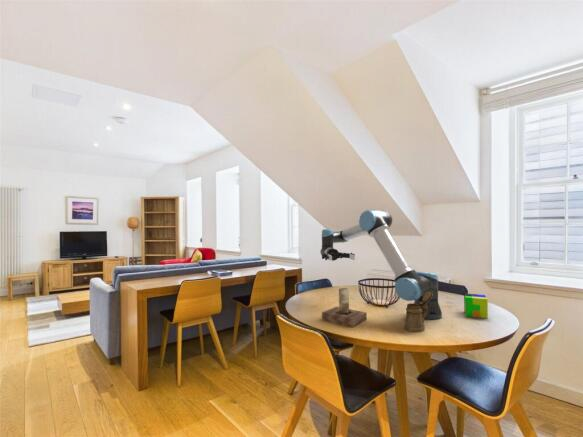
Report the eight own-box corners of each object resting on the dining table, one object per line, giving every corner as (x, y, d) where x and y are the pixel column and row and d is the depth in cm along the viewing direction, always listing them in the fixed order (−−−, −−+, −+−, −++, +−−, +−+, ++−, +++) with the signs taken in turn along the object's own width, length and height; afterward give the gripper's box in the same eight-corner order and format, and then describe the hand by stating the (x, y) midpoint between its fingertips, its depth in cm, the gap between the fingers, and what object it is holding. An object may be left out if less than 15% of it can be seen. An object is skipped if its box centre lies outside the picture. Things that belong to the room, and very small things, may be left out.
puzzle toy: (485, 313, 173) (484, 295, 173) (487, 318, 164) (487, 299, 164) (464, 311, 177) (464, 293, 177) (465, 316, 168) (465, 297, 168)
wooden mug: (437, 331, 144) (437, 292, 145) (408, 332, 144) (407, 292, 144) (429, 325, 153) (428, 288, 153) (401, 325, 153) (401, 288, 153)
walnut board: (366, 320, 162) (366, 312, 162) (353, 327, 151) (352, 318, 151) (336, 313, 173) (336, 306, 174) (321, 319, 163) (321, 312, 163)
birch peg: (351, 319, 163) (350, 288, 163) (345, 322, 159) (345, 290, 159) (342, 317, 166) (342, 287, 166) (337, 320, 162) (336, 289, 162)
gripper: (350, 259, 203) (363, 263, 182) (312, 260, 199) (321, 265, 178) (350, 247, 203) (363, 250, 182) (312, 248, 199) (321, 251, 178)
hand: (342, 257), depth 180 cm, fingers open, 13 cm apart
